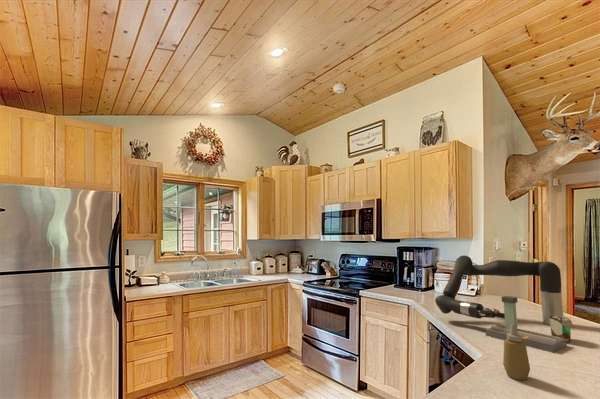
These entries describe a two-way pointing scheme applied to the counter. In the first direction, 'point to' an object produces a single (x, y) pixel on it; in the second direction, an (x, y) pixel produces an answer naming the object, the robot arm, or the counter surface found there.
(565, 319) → the food container
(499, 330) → the slider console
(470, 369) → the counter surface
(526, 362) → the squeeze bottle
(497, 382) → the counter surface
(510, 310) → the fader tab
